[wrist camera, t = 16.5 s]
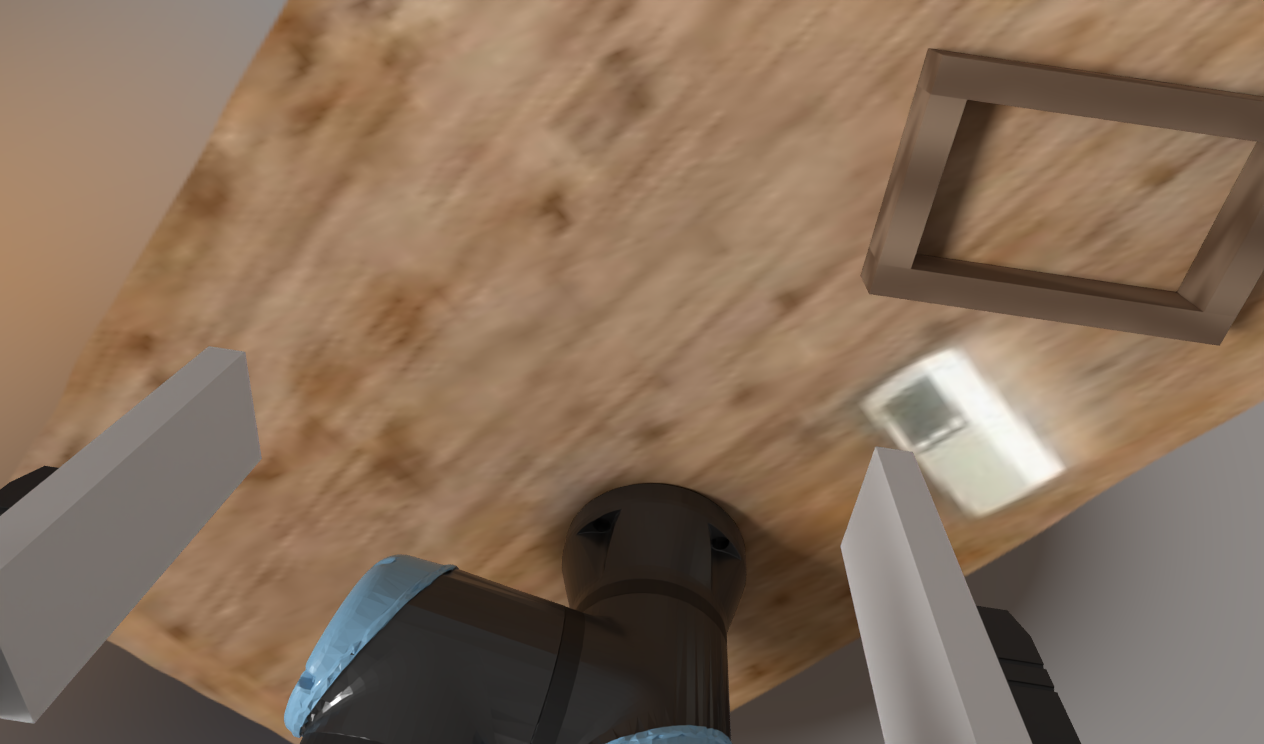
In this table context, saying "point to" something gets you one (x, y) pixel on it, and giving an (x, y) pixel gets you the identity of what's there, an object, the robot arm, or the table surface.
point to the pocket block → (1199, 311)
